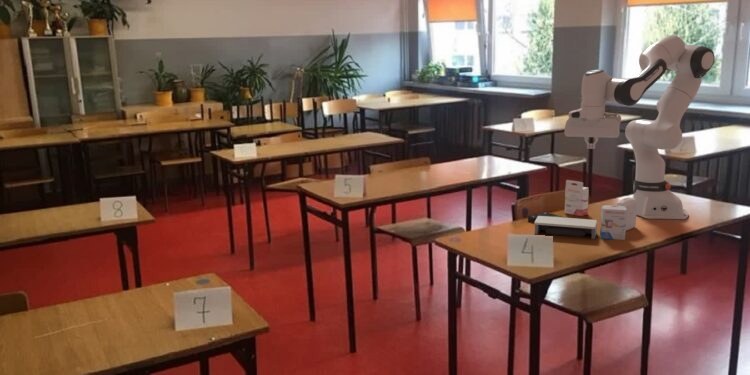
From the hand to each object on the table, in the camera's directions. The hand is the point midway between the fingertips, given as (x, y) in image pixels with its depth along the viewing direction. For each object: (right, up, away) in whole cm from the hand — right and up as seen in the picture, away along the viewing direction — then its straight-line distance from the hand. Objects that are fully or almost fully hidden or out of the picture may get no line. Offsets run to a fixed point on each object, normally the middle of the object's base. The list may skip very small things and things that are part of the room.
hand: (591, 148), depth 247 cm
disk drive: (-13, -30, +13) cm, 35 cm away
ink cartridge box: (+2, -27, +24) cm, 36 cm away
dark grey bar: (-11, -32, -4) cm, 34 cm away
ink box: (+5, -34, -9) cm, 36 cm away
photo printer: (+14, -32, +1) cm, 34 cm away
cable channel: (-11, -33, -3) cm, 35 cm away
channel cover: (-11, -29, -4) cm, 31 cm away
